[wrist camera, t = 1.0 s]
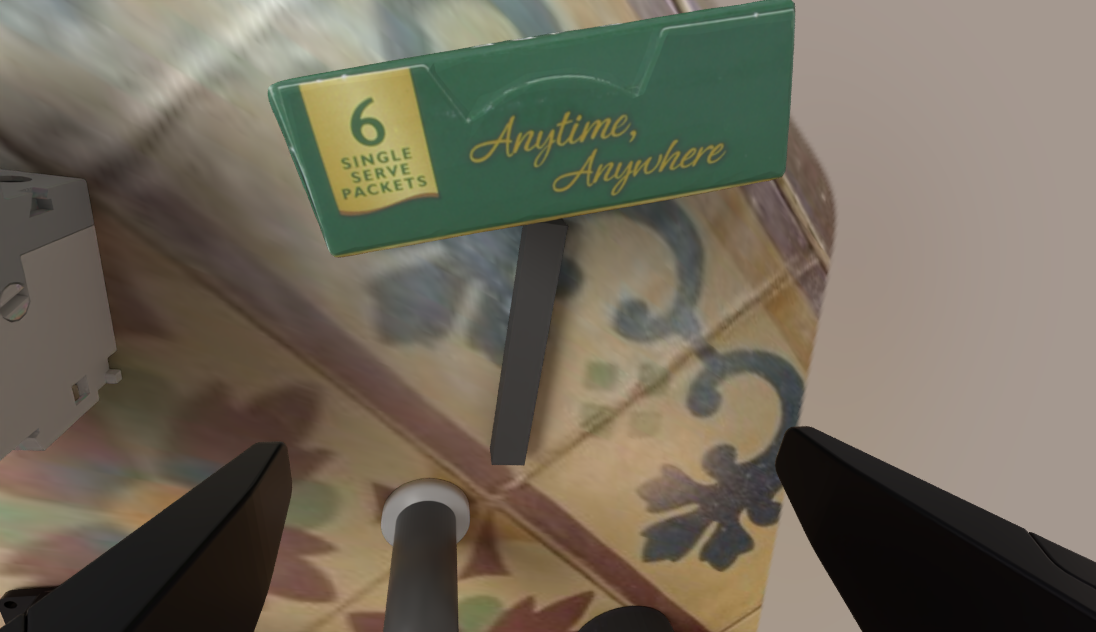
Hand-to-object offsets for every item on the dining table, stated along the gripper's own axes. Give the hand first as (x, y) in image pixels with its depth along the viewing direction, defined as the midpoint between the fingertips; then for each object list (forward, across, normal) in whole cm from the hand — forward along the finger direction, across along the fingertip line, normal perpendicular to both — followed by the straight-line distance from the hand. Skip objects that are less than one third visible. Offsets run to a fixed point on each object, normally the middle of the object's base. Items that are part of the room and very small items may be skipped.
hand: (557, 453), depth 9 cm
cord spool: (+14, +3, +15) cm, 20 cm away
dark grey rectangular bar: (+14, -2, +5) cm, 15 cm away
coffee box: (+14, 0, -5) cm, 15 cm away
